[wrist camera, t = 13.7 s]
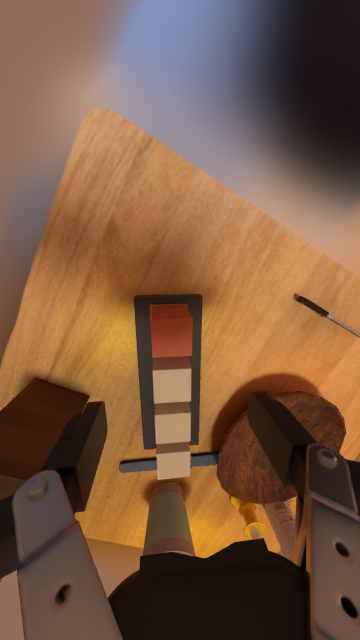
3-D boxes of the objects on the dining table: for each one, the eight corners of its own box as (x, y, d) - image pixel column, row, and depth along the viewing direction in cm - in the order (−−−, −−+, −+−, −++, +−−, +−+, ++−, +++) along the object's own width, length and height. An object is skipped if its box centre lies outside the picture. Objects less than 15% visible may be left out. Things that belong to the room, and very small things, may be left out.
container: (258, 507, 42) (310, 635, 27) (271, 491, 41) (332, 616, 26) (276, 512, 43) (334, 639, 28) (289, 497, 42) (357, 620, 28)
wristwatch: (231, 463, 38) (232, 469, 37) (120, 474, 36) (119, 480, 35) (232, 445, 36) (234, 450, 35) (118, 455, 34) (117, 461, 34)
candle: (224, 497, 40) (263, 637, 25) (244, 482, 39) (295, 616, 24) (241, 508, 41) (287, 647, 26) (260, 493, 41) (318, 627, 26)
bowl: (342, 397, 36) (370, 418, 31) (276, 485, 40) (292, 515, 36) (252, 358, 32) (268, 374, 27) (189, 460, 36) (194, 489, 32)
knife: (362, 336, 33) (375, 341, 31) (359, 340, 33) (372, 345, 31) (294, 294, 30) (304, 296, 28) (291, 298, 30) (301, 301, 28)
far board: (144, 441, 34) (140, 489, 27) (135, 295, 28) (126, 307, 20) (196, 437, 35) (206, 482, 28) (200, 294, 28) (214, 305, 21)
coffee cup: (143, 510, 39) (136, 615, 27) (144, 476, 37) (137, 575, 25) (187, 508, 40) (198, 607, 28) (191, 475, 38) (205, 568, 26)
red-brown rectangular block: (185, 337, 28) (192, 356, 22) (153, 338, 28) (152, 358, 22) (185, 306, 27) (192, 318, 21) (152, 307, 27) (150, 319, 21)
